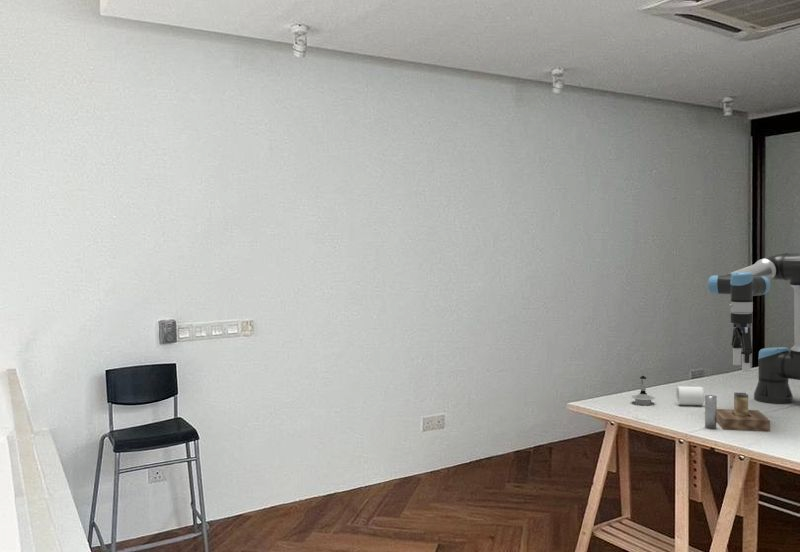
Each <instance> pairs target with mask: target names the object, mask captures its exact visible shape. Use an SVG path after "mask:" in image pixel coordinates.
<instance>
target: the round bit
mask: <svg viewBox="0 0 800 552" xmlns="http://www.w3.org/2000/svg"><path fill="white" fill-rule="evenodd" d="M717 409H718V407H717V395H715V394H714V395H712V394H704V428H705V429H708V430H716V429H717V422H716V420H717Z"/></svg>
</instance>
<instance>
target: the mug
mask: <svg viewBox="0 0 800 552" xmlns="http://www.w3.org/2000/svg"><path fill="white" fill-rule="evenodd" d="M675 391H676V392H675V399H676V404H677V405H678V406H695V405H697V407H698V406H701V407H702V406H704V405H705V391H704V388H703V387H702V386H681V385H680V386H677V387H676V390H675Z"/></svg>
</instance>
